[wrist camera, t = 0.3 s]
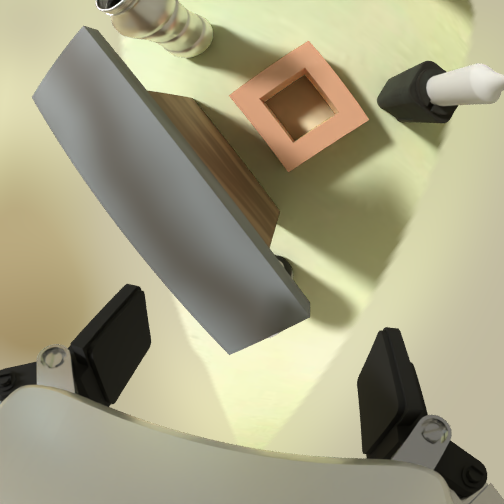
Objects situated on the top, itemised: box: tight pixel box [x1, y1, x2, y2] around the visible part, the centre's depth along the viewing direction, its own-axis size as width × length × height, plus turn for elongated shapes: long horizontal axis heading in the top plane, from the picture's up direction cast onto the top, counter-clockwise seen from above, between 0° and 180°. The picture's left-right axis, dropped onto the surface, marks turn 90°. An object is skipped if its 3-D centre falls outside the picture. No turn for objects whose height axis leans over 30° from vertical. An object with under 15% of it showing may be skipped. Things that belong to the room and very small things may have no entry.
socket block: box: [229, 41, 369, 172], centre depth 33 cm, size 12×12×5 cm
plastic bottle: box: [95, 0, 213, 58], centre depth 24 cm, size 6×7×20 cm
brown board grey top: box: [32, 26, 310, 355], centre depth 27 cm, size 6×22×26 cm, turn 37°
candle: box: [377, 61, 504, 123], centre depth 21 cm, size 5×5×25 cm
